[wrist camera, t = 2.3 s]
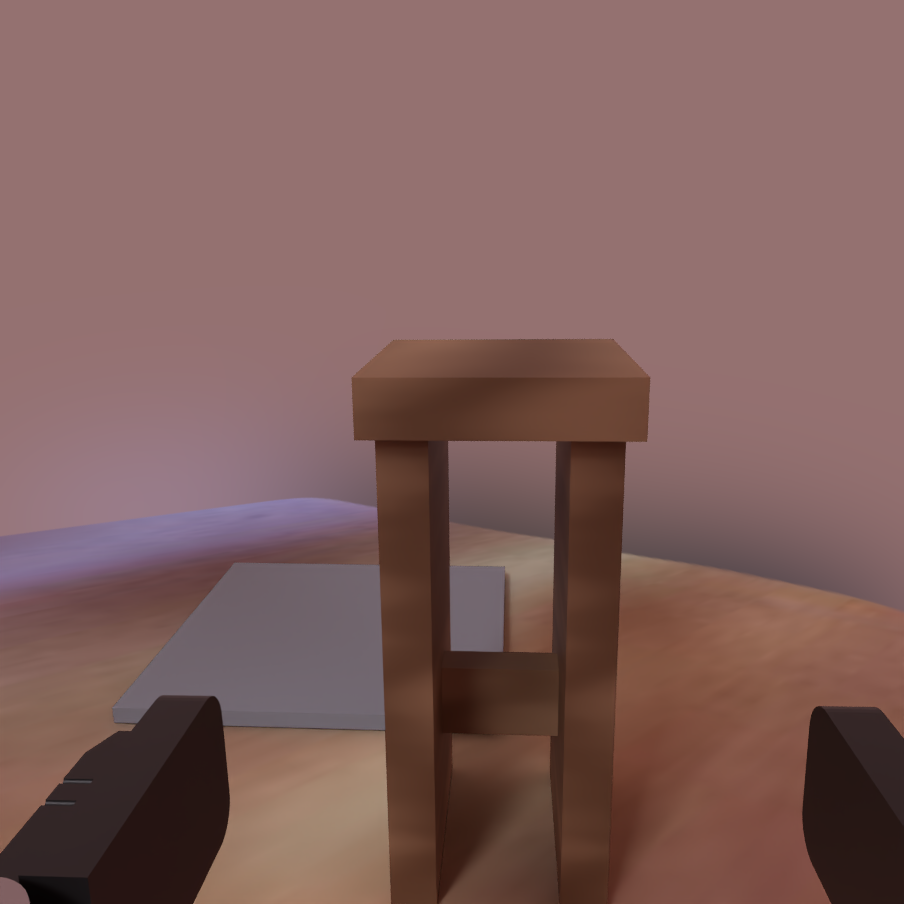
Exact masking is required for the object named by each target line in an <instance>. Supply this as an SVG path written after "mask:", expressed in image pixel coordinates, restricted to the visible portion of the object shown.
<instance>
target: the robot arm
mask: <svg viewBox="0 0 904 904" xmlns="http://www.w3.org/2000/svg"><path fill="white" fill-rule="evenodd" d="M229 807H230V795H229V783H228V773H227V762H226V752H225V741H224V731H223V720H222V711H221V706H220V703H219V701H218V699H217V698H216V697H215V696H190V695H162V696H159V697H158V698H157V699H156V700H155V701H154V703H153V704H152V705H151V706H150V708H149V709H148V710H147V712H146V713H145V714H144V715H143V717H142V718H141V719H140V720H139V722H138V723H137V724H136V726H135V727H134V728H133V729H132V731H118V732H116V733H115V734H113V735H112V736H110V737H109V738H107V739H106V740H104V741H103V742H101V743H100V744H98V745H96V746H95V747H93V748H92V749H90V750H89V751H87V752H86V753H85V754H84V755H83V756H82V757H81V758H80V760H79V761H78V762H77V763H76V764H75V766H74V767H73V768H72V769H71V770H70V772H69V773H68V774H67V775H66V776H65V777H64V781H63V784H59V785H58V786H57V787H56V788H55V789H54V791H53V792H52V793H51V794H50V795H49V796H48V798H47V799H46V803H45V806H44V805H41V806H40V807H39V808H38V810H37V811H36V812H35V813H34V814H33V816H32V817H31V818H30V819H29V820H28V821H27V823H26V824H25V825H24V826H23V827H22V829H21V830H20V831H19V832H18V833H17V835H16V836H15V837H14V838H13V839H12V840H11V842H10V843H9V844H8V845H7V846H6V848H5V849H4V850H3V851H2V852H1V854H0V904H193V903H194V901H195V899H196V897H197V894H198V892H199V890H200V888H201V886H202V884H203V882H204V880H205V878H206V876H207V874H208V872H209V870H210V868H211V866H212V863H213V861H214V859H215V857H216V855H217V853H218V851H219V849H220V847H221V845H222V842H223V839H224V836H225V833H226V829H227V824H228V817H229ZM802 816H803V830H804V837H805V842H806V847H807V851H808V854H809V857H810V860H811V862H812V865H813V867H814V869H815V871H816V873H817V875H818V877H819V879H820V881H821V883H822V885H823V887H824V889H825V891H826V893H827V896H828V898H829V900H830V902H831V904H904V738H903V737H902V736H901V735H900V733H899V732H898V731H897V729H896V728H895V727H894V726H893V724H892V723H891V722H890V721H889V719H888V718H887V717H886V716H885V714H884V713H883V712H882V711H881V710H880V709H878V708H876V707H834V706H818V707H816V708H815V709H814V710H813V712H812V715H811V719H810V726H809V738H808V750H807V762H806V774H805V786H804V798H803V812H802Z"/></svg>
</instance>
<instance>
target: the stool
mask: <svg viewBox="0 0 904 904" xmlns="http://www.w3.org/2000/svg"><path fill="white" fill-rule="evenodd" d="M649 392H650V377H649V376H648V375H647V374H646V373H645V372H644V371H643V370H642V369H641V367H639V365H638V364H637V363H636V362H635V361H634V360H633V359H632V358H631V357H630V356H629V355H628V354H627V353H626V352H625V351H624V350H623V349H622V348H621V347H620V346H619V345H618V344H617V343H616V342H615V341H614V339H528V340H525V339H521V340H520V339H518V340H393V341H392V342H391V343H390V344H388V345H387V346H386V347H385V348H384V349H383V350H382V351H381V352H380V353H378V354H377V355H376V356H375V357H374V358H373V359H372V360H371V361H370V362H368V363H367V364H366V365H365V366H364V367H363V368H362V369H361V370H360V371H358V372H357V373H356V374H355V375H354V376H353V377H352V399H353V422H354V440H375V451H376V481H377V510H378V539H379V567H380V596H381V625H382V653H383V682H384V711H385V740H386V768H387V797H388V826H389V854H390V883H391V904H437V900H438V891H439V882H440V873H441V864H442V855H443V846H444V837H445V828H446V819H447V810H448V801H449V792H450V783H451V774H452V733H466V734H502V735H537V736H551V743H550V777H551V791H552V805H553V819H554V833H555V847H556V861H557V875H558V889H559V903H560V904H607V900H608V875H609V850H610V825H611V800H612V775H613V750H614V726H615V701H616V676H617V651H618V626H619V601H620V576H621V551H622V526H623V501H624V500H623V499H624V475H625V450H626V442H628V441H629V442H633V441H634V442H642V441H643V442H647V435H648V414H649ZM448 441H556V486H555V487H556V489H555V537H554V588H553V640H552V653H529V652H482V651H451V631H450V554H449V480H448V479H449V478H448Z"/></svg>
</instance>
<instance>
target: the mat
mask: <svg viewBox="0 0 904 904" xmlns="http://www.w3.org/2000/svg"><path fill="white" fill-rule="evenodd" d="M504 588H505V567H493V566H450V631H451V651H482V652H503V639H504ZM162 695H190V696H215V697H216V698H217V699H218V701H219V703H220V706H221V711H222V720H223V726H255V727H291V728H326V729H362V730H385V711H384V682H383V653H382V625H381V596H380V567H379V565H358V564H290V563H234V564H233V565H232V566H231V567H230V569H229V570H228V571H227V572H226V573H225V575H224V576H223V577H222V578H221V579H220V581H219V582H218V583H217V584H216V585H215V586H214V588H213V589H212V590H211V591H210V592H209V594H208V595H207V596H206V597H205V598H204V600H203V601H202V602H201V603H200V604H199V605H198V607H197V608H196V609H195V610H194V611H193V613H192V614H191V615H190V616H189V617H188V619H187V620H186V621H185V622H184V623H183V624H182V626H181V627H180V628H179V629H178V630H177V632H176V633H175V634H174V635H173V636H172V638H171V639H170V640H169V641H168V642H167V643H166V645H165V646H164V647H163V648H162V649H161V651H160V652H159V653H158V654H157V655H156V656H155V658H154V659H153V660H152V661H151V662H150V664H149V665H148V666H147V667H146V668H145V670H144V671H143V672H142V673H141V674H140V675H139V677H138V678H137V679H136V680H135V681H134V683H133V684H132V685H131V686H130V687H129V689H128V690H127V691H126V692H125V693H124V694H123V696H122V697H121V698H120V699H119V700H118V702H117V703H116V704H115V705H114V706H113V708H112V709H113V717H114V723H138V722H139V720H140V719H141V718H142V717H143V715H144V714H145V713H146V712H147V710H148V709H149V708H150V706H151V705H152V704H153V703H154V701H155V700H156V699H157V698H158V697H159V696H162Z"/></svg>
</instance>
